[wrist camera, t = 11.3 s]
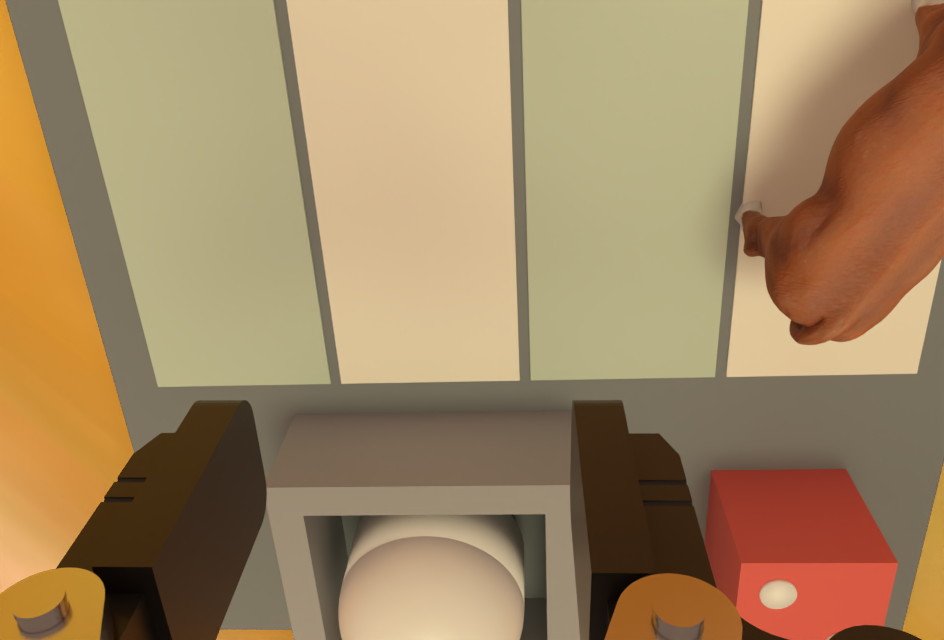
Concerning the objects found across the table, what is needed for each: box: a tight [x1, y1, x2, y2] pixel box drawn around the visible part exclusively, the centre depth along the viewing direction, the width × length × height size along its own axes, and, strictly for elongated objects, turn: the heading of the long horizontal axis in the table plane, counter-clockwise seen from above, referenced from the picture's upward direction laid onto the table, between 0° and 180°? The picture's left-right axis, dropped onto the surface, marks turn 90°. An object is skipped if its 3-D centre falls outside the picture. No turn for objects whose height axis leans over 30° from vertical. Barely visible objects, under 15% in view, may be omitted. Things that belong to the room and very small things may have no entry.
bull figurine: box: [735, 0, 944, 345], centre depth 23 cm, size 4×13×8 cm, turn 144°
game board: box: [5, 0, 944, 640], centre depth 28 cm, size 29×31×6 cm
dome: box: [338, 514, 524, 640], centre depth 30 cm, size 7×7×7 cm
